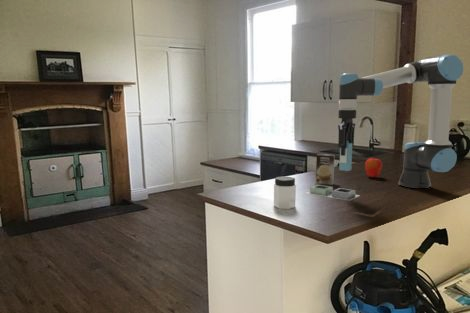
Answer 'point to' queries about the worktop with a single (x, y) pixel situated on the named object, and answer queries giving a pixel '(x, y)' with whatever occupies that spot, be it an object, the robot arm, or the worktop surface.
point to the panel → (333, 192)
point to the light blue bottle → (349, 158)
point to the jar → (284, 192)
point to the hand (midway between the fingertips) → (345, 161)
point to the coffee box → (325, 169)
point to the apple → (373, 167)
